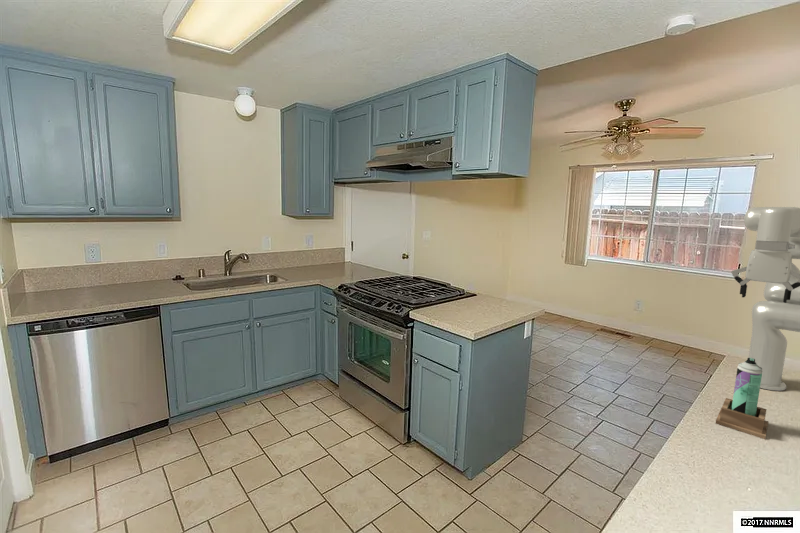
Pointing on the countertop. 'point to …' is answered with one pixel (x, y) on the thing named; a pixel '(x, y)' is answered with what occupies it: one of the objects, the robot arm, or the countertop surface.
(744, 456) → the countertop surface
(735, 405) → the spray can
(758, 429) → the can holder
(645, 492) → the countertop surface
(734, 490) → the countertop surface
